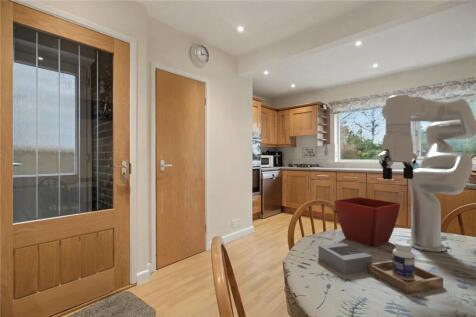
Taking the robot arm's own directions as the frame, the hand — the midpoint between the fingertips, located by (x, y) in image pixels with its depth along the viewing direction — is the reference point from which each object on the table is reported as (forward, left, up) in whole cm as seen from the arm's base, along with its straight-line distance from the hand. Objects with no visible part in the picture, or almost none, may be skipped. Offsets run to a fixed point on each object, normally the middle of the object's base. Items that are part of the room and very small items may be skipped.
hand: (397, 178), depth 86 cm
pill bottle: (+12, +11, -28) cm, 32 cm away
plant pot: (-5, -19, -29) cm, 35 cm away
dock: (+21, -2, -28) cm, 35 cm away
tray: (+12, +12, -28) cm, 33 cm away
